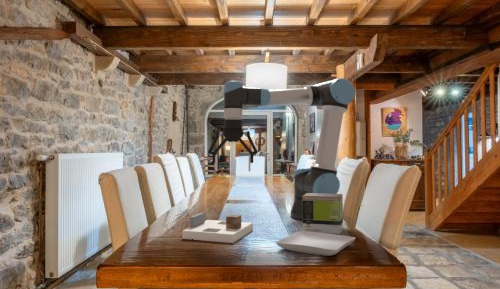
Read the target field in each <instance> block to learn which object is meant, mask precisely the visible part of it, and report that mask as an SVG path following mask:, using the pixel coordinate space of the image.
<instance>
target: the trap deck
mask: <svg viewBox="0 0 500 289" xmlns="http://www.w3.org/2000/svg"><path fill="white" fill-rule="evenodd" d="M253 225H254V222H246V221H245V222H244V221H241V227H240V228H238V229H228V228H226V220H217V219H215V220H213V219H206V212H200V213H197V214H194V215H192V216H190V217H189V227H188V228H185V229H184V230H182V240H183V239H184V240H192V239H193V240H195V241H205V242H207V241H208V242H217V243H230V244H231V243H232V244H234V243H235V242H237V241H239V240H241V239H242V238H243V237H245V236H246V235H248V234H249V233H251V232H253V231H254V230H253V228H254V226H253Z"/></svg>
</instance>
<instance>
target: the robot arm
mask: <svg viewBox="0 0 500 289" xmlns="http://www.w3.org/2000/svg"><path fill="white" fill-rule="evenodd" d="M355 96H356V90H355V87H354V85H353V84H352V82H351V81H350V80H349V79H347V78H345V77H344V78H341V77H340V78H334V79H331V80H327V81H324V82H320V83H317V84H314V85H305V86H304V87H303V88H302V87H301V88H286V89H285V88H284V89H283V88H282V89H269V88H266V87H249V86H248V87H246V86H244V85H243V82H242V81H240V80H230V81H229V80H228V81H226V82H225V83H224V87H223V104H224V105H223V107H224V108H223V119H224V120H223V131H219V130H216V131H215V137H214V139H213V141H212V143H211V145H210V147H209V149H208V151H207V153H208V154H210V155H211V156H212V163H213V164H214V171H215V172H218V154H217V153H218V152H219V151H220V150H221V149H222V148H223V146H224V145H225V144H226V143H227V142H228V143H232V142H233V143H238V142H239V143H240V144H241V145H242V146H243V148H244V149H245V150H247V152H248V172H251V164H253V163H254V156H255V155H256V154H258V150H257V148H256V145H255V143H254V142H253V139H252V137H251V132H250V131H249V130H248V131H243V120H242V119H243V110H246V109H255V108H268V107H282V106H285V107H286V106H298V105H305V107H321V109H322V110H323V116H322V122H321V127H320V128H321V129H320V132H319V133H320V134H319V140H318V147H317V151H316V157H315V162H314V163H313V164H312V165H311V167H307V168H298V169H297V168H296V169H295V170H294V173H293V193H294V194H293V195H294V197H293V203H292V207H291V210H290V217H291V218H292V219H296V220H297V219H298V220H302V196H303V195H305V194H307V193H320V194H339V193H338V192H339V191H340V188H341V182H340V179H339V177H338V176H337V174H338V169H337V168H336V167H335V165H336V159H337V155H338V154H337V153H338V148H339V143H340V142H339V141H340V135H341V131H342V129H341V128H342V124H343V119H344V118H343V117H344V114H345V113H346V112H348V108H349V104H350V103H351V102H352V101H353V100H354V99H355ZM221 136H223V137H224V139H223V140H222V141H221V142H220V143H219V144H218V146H217V147H216V148H215V146H216V144H217V142H218V140H219V138H220V137H221ZM243 136H244V137H247V140H248V142H249V144H250V145H251V148H252V150H253V151H252V150H251V148H250V147H249V146H248V145H247V144H246V142H245V141H244V140H243ZM214 148H215V149H214ZM213 150H214V151H213ZM249 154H250V155H249Z"/></svg>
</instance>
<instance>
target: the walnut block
mask: <svg viewBox="0 0 500 289" xmlns="http://www.w3.org/2000/svg"><path fill="white" fill-rule="evenodd" d="M225 221H226V228H228V229H238V228H240V227H241V222H242V214H228V215H227V216H225Z"/></svg>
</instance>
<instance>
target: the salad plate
mask: <svg viewBox="0 0 500 289" xmlns="http://www.w3.org/2000/svg"><path fill="white" fill-rule="evenodd" d="M355 240H356V237H354V236H349V235H341V234H332V233H317V232H306V231H303V230H300V231H297V232H295V233H292V234H290V235H288V236H285V237H284V238H281V239H279V240H277V241H276V242H275V244H276V245H277V246H278V247H280V248H281V249H283V250H284V249H285V250H288V251H290V252H297V253H304V254H310V255H315V256H316V255H317V256H324V257H325V256H326V257H329V256H330V257H331V256H334V255H336V254H338V253H339V252H341V251H342V250H343V249H344V248H347V247H348V246H349V245H352V244H353V243H354V241H355Z"/></svg>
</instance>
